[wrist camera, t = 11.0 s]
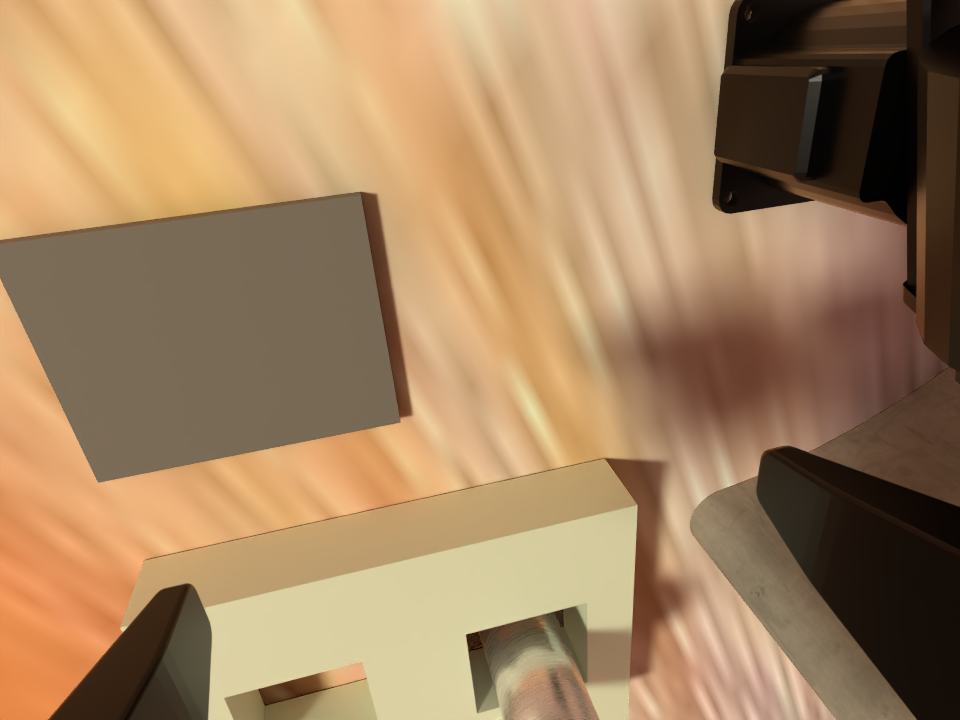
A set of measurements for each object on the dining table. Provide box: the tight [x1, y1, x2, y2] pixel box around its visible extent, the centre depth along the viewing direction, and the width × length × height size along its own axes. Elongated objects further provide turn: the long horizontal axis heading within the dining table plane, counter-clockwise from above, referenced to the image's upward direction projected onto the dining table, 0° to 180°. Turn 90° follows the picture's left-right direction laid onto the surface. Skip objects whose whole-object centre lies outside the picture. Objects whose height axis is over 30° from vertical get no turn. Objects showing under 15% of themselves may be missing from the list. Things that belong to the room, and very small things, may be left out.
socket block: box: [120, 459, 638, 720], centre depth 25 cm, size 18×14×3 cm
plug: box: [479, 612, 600, 720], centre depth 24 cm, size 3×3×8 cm
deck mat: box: [0, 192, 400, 483], centre depth 19 cm, size 10×8×1 cm
